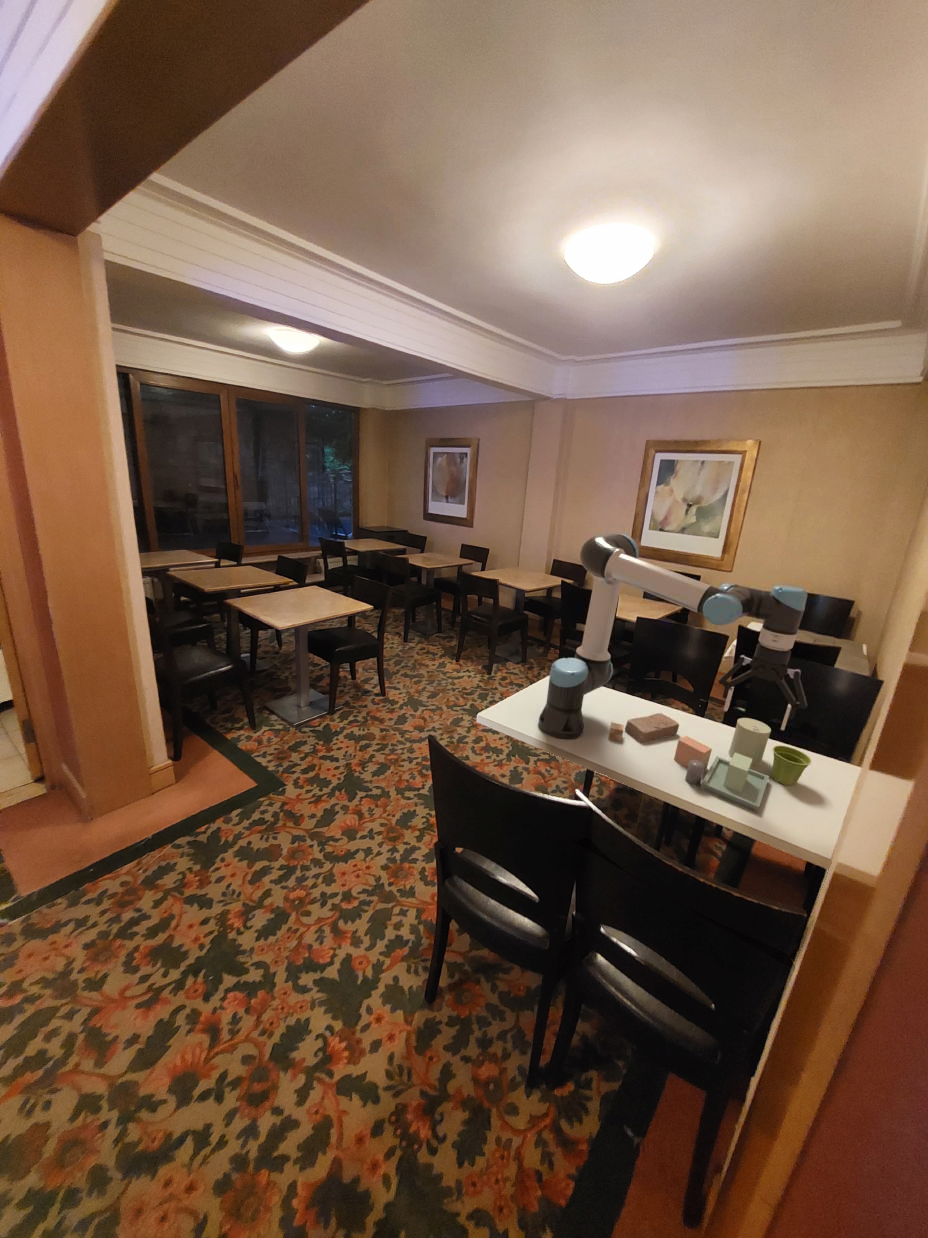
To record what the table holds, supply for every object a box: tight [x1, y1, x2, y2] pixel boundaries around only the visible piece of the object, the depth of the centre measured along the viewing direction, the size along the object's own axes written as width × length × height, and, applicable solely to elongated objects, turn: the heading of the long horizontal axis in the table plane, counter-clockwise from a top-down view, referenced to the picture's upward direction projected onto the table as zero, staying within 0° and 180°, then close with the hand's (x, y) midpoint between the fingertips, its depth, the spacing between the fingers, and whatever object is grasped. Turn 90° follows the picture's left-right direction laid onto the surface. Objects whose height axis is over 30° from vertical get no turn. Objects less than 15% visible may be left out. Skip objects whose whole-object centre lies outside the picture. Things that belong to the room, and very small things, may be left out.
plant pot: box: [771, 744, 812, 787], centre depth 135 cm, size 9×9×9 cm
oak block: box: [608, 721, 625, 742], centre depth 153 cm, size 4×4×4 cm
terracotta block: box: [673, 735, 713, 771], centre depth 140 cm, size 4×8×7 cm, turn 35°
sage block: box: [723, 753, 752, 793], centre depth 131 cm, size 4×8×7 cm, turn 140°
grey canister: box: [684, 760, 705, 787], centre depth 132 cm, size 4×4×6 cm
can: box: [728, 717, 772, 767], centre depth 145 cm, size 9×9×12 cm
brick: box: [624, 712, 680, 743], centre depth 157 cm, size 17×8×5 cm, turn 114°
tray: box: [699, 755, 770, 814], centre depth 132 cm, size 14×18×2 cm
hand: (753, 718), depth 126 cm, fingers open, 13 cm apart
